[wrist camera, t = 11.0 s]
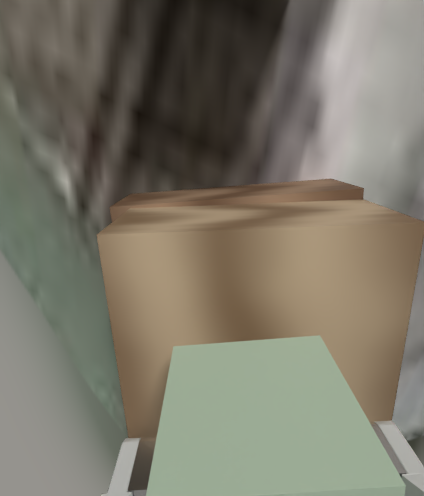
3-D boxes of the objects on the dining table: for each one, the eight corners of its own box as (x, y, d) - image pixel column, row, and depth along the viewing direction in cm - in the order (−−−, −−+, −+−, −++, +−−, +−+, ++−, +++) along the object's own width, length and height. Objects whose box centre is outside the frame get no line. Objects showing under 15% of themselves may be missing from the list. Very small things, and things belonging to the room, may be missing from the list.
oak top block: (363, 199, 16) (426, 222, 12) (342, 389, 20) (383, 466, 15) (129, 208, 16) (96, 234, 12) (152, 395, 20) (134, 473, 15)
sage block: (320, 335, 11) (405, 485, 6) (317, 446, 12) (383, 635, 8) (173, 346, 11) (144, 502, 6) (188, 455, 12) (176, 646, 8)
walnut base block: (329, 178, 21) (363, 188, 16) (322, 347, 25) (348, 394, 20) (132, 193, 21) (109, 207, 16) (157, 357, 25) (144, 407, 20)
